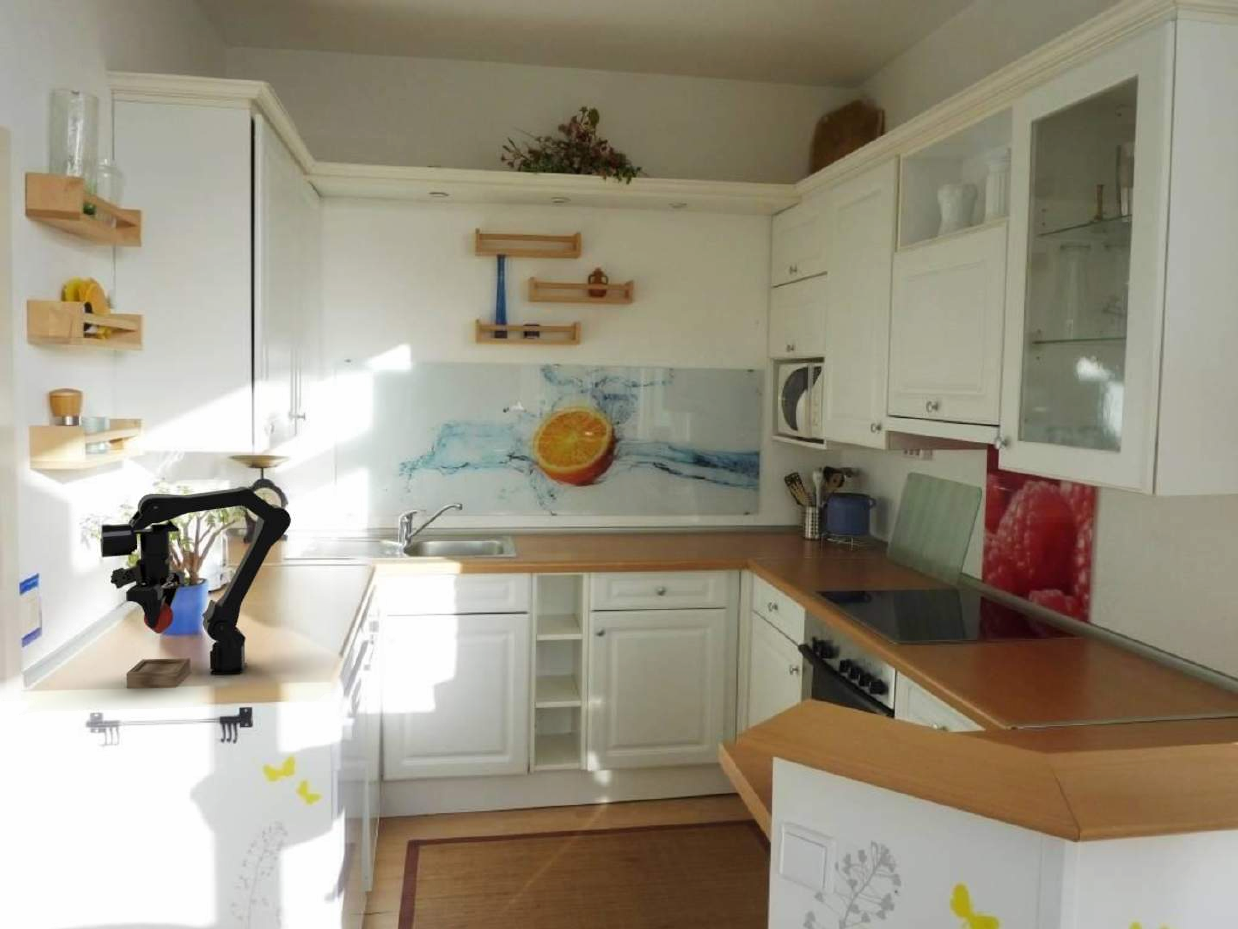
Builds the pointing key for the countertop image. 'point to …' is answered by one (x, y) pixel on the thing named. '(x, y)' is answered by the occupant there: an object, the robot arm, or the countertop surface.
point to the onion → (162, 619)
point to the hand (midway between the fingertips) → (157, 624)
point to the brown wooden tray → (158, 673)
